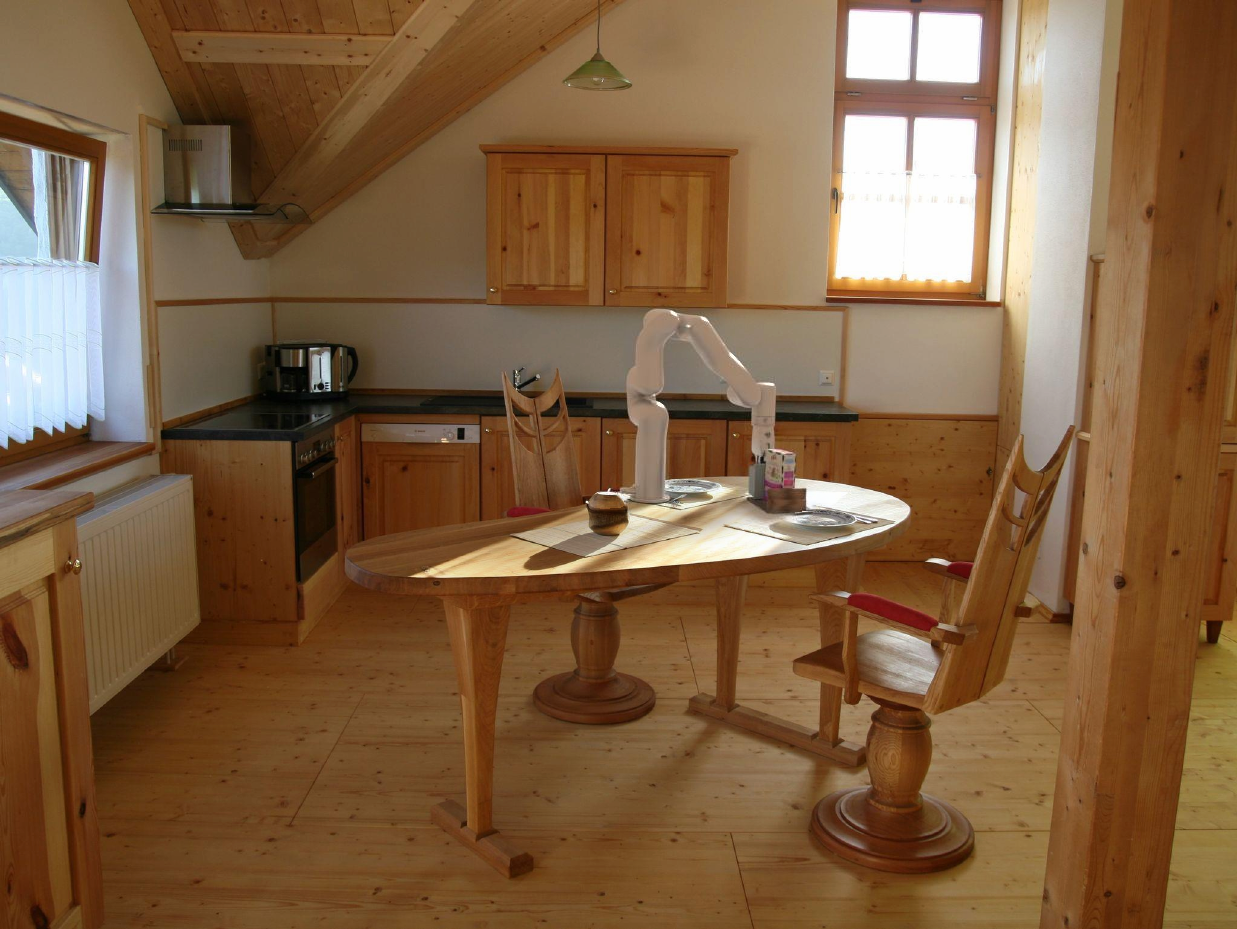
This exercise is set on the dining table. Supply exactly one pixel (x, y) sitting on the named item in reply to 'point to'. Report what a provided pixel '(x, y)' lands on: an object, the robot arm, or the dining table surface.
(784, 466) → the candy bar box
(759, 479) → the block
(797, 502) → the book rack
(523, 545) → the dining table surface
